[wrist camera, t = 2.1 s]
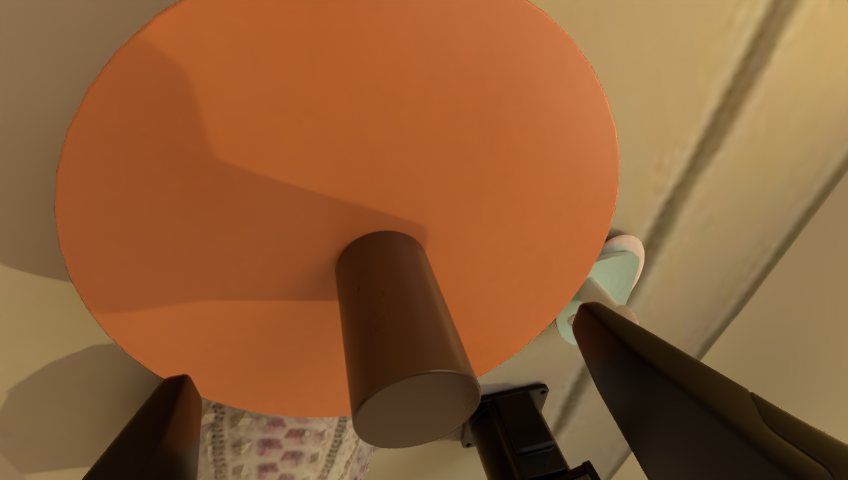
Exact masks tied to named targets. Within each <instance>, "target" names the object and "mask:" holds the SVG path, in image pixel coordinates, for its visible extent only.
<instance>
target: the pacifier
mask: <svg viewBox="0 0 848 480" xmlns="http://www.w3.org/2000/svg"><path fill="white" fill-rule="evenodd" d="M623 250H626V251H624V252H618V251H623ZM643 264H644V249H643V246H642V243H641V242H640V240H639V239H638V238H637V237H635V236H632V235H619V236H616V237H614V238H611V239H610V240H608V241H607V242H605V243H604V245H603V247H602V249H601V252H600V254H599V256H598V258H597V260H596V262H595V264H594V266H593V267H592V269H591V271H590V273H589V274H588V276H587V278H586V280H585V281H584V283H583V284H582V285H581V287H580V288H579V290H578V291H577V293H576V294H575V295H574V297H573V298H572V300H571V301H570V302H569V303H568V304H567V306H566V307H565V308H564V309H563V310H562V311H561V312H560V314H559V315H558V316H557V317H556V318H555V323H556V326H557V329H558V331H559V333H560V335H561V336H562V337H563V338H564V339H565V340H566V341H567V342H569V343H570V344H573V345H575V346H578V344H577V342H576V340H575V337H574V335H573V331H572V324H570V325H569V324H568V319H569V317H570V316H571V315H572V314H576V313H577V310H578V307H579V306H580V305H581V304H582V303H586V302H592V301H596V302H599V303H601V304H603V305H605V306H606V307H608V308H610V309H611V310H613V311H615V312H616V313H618V314H620V315H622V316H623V317H625V318H627V319H628V320H630V321H632V322H634V323H635V324H637V325H639V324H638V321H637V319H636V317H635V315H634V314H633V312H632V311H631V310H630V309H629V308H628V307H627V306H625V305H626V302H627V300H628V297H629V295H630V292H631V290H632V289H633V287H634V286H635V284H636V282H637V281H638V278H639V276H640V274H641V271H642V268H643Z"/></svg>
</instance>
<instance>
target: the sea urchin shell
mask: <svg viewBox="0 0 848 480" xmlns="http://www.w3.org/2000/svg"><path fill="white" fill-rule="evenodd" d="M201 399H202V417H201V432H200V447H199V462H198V475H197V480H364V479H366V477H365V474H366V473H368V472H369V470H368V467H367V466H368V463H369V461H370V460H371V458H372V457H373V455H372V454H373V450H372V448H373V447H374V446H373V445H370V444H368V443H365V442H364V441H362V440H361V439H360V438H359V437H358V436H357V434H356V433H355V431H354V429H353V425H352V416H343V417H320V418H309V417H287V416H279V415H271V414H263V413H257V412H253V411H248V410H243V409H239V408H234V407H231V406H227V405H224V404H221V403H218V402H215V401H211V400H208V399H205V398H203V397H201Z"/></svg>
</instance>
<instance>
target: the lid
mask: <svg viewBox="0 0 848 480" xmlns="http://www.w3.org/2000/svg"><path fill="white" fill-rule="evenodd" d="M619 159H620V156H619V148H618V141H617V133H616V127H615V123H614V120H613V116H612V113H611V110H610V106H609V103H608V100H607V97H606V95H605V93H604V91H603V89H602V87H601V84H600V82H599V80H598V78H597V76H596V74H595V72H594V70H593V68H592V66H591V65H590V64H589V62H588V61H587V60H586V58H585V57H584V55H583V54H582V53H581V51H580V50H579V49H578V47H577V46H576V44H575V43H574V42H573V40H572V39H571V38H570V37H569V36H568V35H567V34H566V33H565V32H564V31H563V30H562V29H561V28H560V27H559V26H558V25H557V24H556V23H555V22H554V21H553V20H552V19H551V18H550V17H549V16H548V15H547V14H546V13H545V12H544V11H542V10H541V9H539V8H538V7H536V6H535V5H533V4H532V3H530V2H529V1H528V0H180V1H178V2H177V3H175V4H173V5H172V6H170V7H168V8H167V9H165V10H164V11H162V12H160V13H159V14H157V15H156V16H155V17H154V18H153V19H151V20H150V21H149V22H148V23H147V24H146V25H145V26H144V27H142V28H141V29H140V30H139V31H138V32H137V33H136V34H135V35H133V36H132V37H131V38H130V39H129V40H128V41H127V42H126V43H124V44H123V45H122V46H121V47H120V48H119V49H118V50H117V51H116V52H115V54H114V55H113V56H112V58H111V59H110V60H109V62H108V63H107V64H106V65H105V67H104V68H103V69H102V71H101V72H100V73H99V74H98V76H97V77H96V78H95V80H94V81H93V82H92V84H91V85H90V86H89V87H88V89H87V91H86V93H85V95H84V97H83V99H82V101H81V103H80V105H79V107H78V109H77V111H76V113H75V115H74V117H73V119H72V121H71V123H70V125H69V127H68V129H67V133H66V137H65V140H64V144H63V148H62V151H61V155H60V159H59V163H58V166H57V172H56V188H55V205H54V211H55V218H56V225H57V232H58V239H59V246H60V249H61V252H62V255H63V258H64V261H65V264H66V267H67V270H68V273H69V276H70V279H71V281H72V283H73V284H74V286H75V288H76V290H77V292H78V293H79V295H80V297H81V299H82V301H83V302H84V304H85V306H86V308H87V309H88V311H89V312H90V313H91V314H92V316H93V317H94V318H95V320H96V321H97V322H98V323H99V325H100V326H101V327H102V328H103V330H104V331H105V332H106V333H107V335H108V336H109V337H111V338H112V339H113V340H114V341H115V342H116V343H117V344H118V345H119V346H120V347H121V348H122V349H123V350H124V351H125V352H126V353H127V354H129V355H130V356H131V357H132V358H134V359H135V360H136V361H138V362H139V363H141V364H142V365H143V366H145V367H146V368H148V369H149V370H150V371H152V372H153V373H154V374H156V375H158V376H160V377H162V378H163V379H165V378H167V377H170V376H176V375H182V374H188V375H189V376H190V377H191V378H192V380H193V382H194V384H195V386H196V388H197V390H198V392H199V394H200V396H201V397H203V398H205V399H208V400H211V401H215V402H218V403H221V404H224V405H227V406H231V407H234V408H239V409H243V410H248V411H253V412H257V413H263V414H271V415H279V416H287V417H309V418H320V417H343V416H352V425H353V429H354V431H355V433H356V434H357V436H358V437H359V438H360V439H361V440H362V441H364V442H365V443H368V444H370V445H373V446H376V447H381V448H406V447H413V446H418V445H421V444H425V443H428V442H431V441H434V440H436V439H439V438H441V437H443V436H445V435H447V434H449V433H451V432H452V431H454V430H456V429H457V428H459V427H460V426H461V425H463V424H464V423H465V422H466V421H467V420H468V419H469V418H470V417H471V416H472V415H473V414H474V412H475V411H476V409H477V407H478V405H479V403H480V400H481V388H480V385H479V383H478V381H477V377H479V376H481V375H483V374H484V373H486V372H488V371H489V370H491V369H493V368H494V367H496V366H498V365H500V364H501V363H502V362H504V361H505V360H507V359H508V358H510V357H511V356H512V355H514V354H515V353H517V352H518V351H520V350H521V349H522V348H523V347H524V346H526V345H527V344H528V343H529V342H531V341H532V340H533V339H534V338H535V337H537V336H538V335H539V334H540V333H541V332H542V331H543V330H544V329H545V328H546V327H547V326H548V325H549V324H550V323H551V322H552V321H553V320H554V319H555V318H556V317H557V316H558V315H559V314H560V312H561V311H562V310H563V309H564V308H565V307H566V306H567V304H568V303H569V302H570V301H571V300H572V298H573V297H574V295H575V294H576V293H577V291H578V290H579V288H580V287H581V285H582V284H583V283H584V281H585V280H586V278H587V276H588V274H589V273H590V271H591V269H592V267H593V266H594V264H595V262H596V260H597V258H598V256H599V254H600V252H601V249H602V247H603V245H604V242H605V240H606V238H607V235H608V232H609V228H610V225H611V222H612V218H613V215H614V212H615V206H616V200H617V194H618V187H619Z"/></svg>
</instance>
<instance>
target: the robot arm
mask: <svg viewBox="0 0 848 480" xmlns="http://www.w3.org/2000/svg"><path fill="white" fill-rule="evenodd" d="M572 331H573V335H574V337H575V340H576V342H577V344H578V346H579V349H580V351H581V353H582V356H583V358H584V360H585V362H586V365H587V367H588V369H589V372H590V374H591V376H592V378H593V381H594V383H595V385H596V387H597V389H598V391H599V393H600V395H601V397H602V398H603V400H604V402H605V404H606V405H607V407H608V409H609V411H610V413H611V414H612V416H613V418H614V420H615V421H616V423H617V425H618V427H619V429H620V430H621V432H622V434H623V436H624V437H625V439H626V441H627V443H628V444H629V446H630V448H631V450H632V452H633V453H634V455H635V457H636V458H637V460H638V462H639V464H640V466H641V468H642V469H643V471H644V473H645V474H646V476H647V478H648V480H848V444H845V443H844V442H842V441H840V440H838V439H836V438H834V437H832V436H830V435H828V434H826V433H825V432H822V431H821V430H819V429H817V428H815V427H813V426H811V425H809V424H807V423H806V422H804V421H802V420H800V419H798V418H796V417H795V416H793V415H791V414H789V413H788V412H786V411H784V410H782V409H781V408H779V407H777V406H775V405H774V404H772V403H770V402H768V401H767V400H765V399H763V398H762V397H759V396H758V395H756V394H755V393H753V392H749V390H748V389H746V388H744V387H743V386H741V385H739V384H737V383H736V382H734V381H732V380H731V379H729V378H727V377H726V376H724V375H722V374H720V373H719V372H717V371H715V370H714V369H712V368H710V367H708V366H707V365H705V364H703V363H702V362H700V361H698V360H697V359H695V358H693V357H691V356H690V355H688V354H686V353H685V352H683V351H681V350H680V349H678V348H676V347H674V346H673V345H671V344H669V343H668V342H666V341H664V340H662V339H661V338H659V337H657V336H656V335H654V334H652V333H651V332H649V331H647V330H645V329H644V328H642V327H640V326H639V325H637V324H635V323H634V322H632V321H630V320H628V319H627V318H625V317H623V316H622V315H620V314H618V313H616V312H615V311H613V310H611V309H610V308H608V307H606V306H605V305H603V304H601V303H599V302H596V301H592V302H586V303H582V304H581V305H580V306H579V307H578V310H577V313H576V316H575V318H574V321H573V324H572ZM548 391H549V389H548V387H547V386H546V384H539V385H535V386H530V387H526V388H521V389H517V390H512V391H507V392H503V393H498V394H494V395H489V396H485V397H481V400H480V403H479V405H478V407H477V409H476V411H475V412H474V414H473V415H472V416H471V417H470V418H469V419H468V420H467V421H466V422H465V423H464V427H463V433H462V440H461V443H462V446H463V448H469V447H473V446H476V448H477V451H478V454H479V457H480V459H481V462H482V465H483V468H484V471H485V474H486V476H487V479H488V480H601V479H600V477H599V476H598V474H597V472H596V471H595V469H594V467H593V466H592V464H591V462H590V461H589V460H588V461H585V462H583V463H582V465H580V466H578V467H576V468H574V469H571V470H570V468H569V466H568V464H567V462H566V460H565V458H564V456H563V454H562V452H561V450H560V448H559V446H558V444H557V442H556V441H555V439H554V437H553V435H552V433H551V431H550V429H549V427H548V425H547V423H546V421H545V419H544V417H543V415H542V413H541V411H542V408H543V405H544V403H545V400H546V397H547V394H548ZM201 417H202V399H201V396H200V394H199V392H198V390H197V388H196V386H195V384H194V382H193V380H192V378H191V377H190V376H189V375H188V374H182V375H176V376H170V377H167V378H165V379H164V380H163V381H162V382H161V383H160V384H159V386H158V387H157V388H156V389H155V391H154V392H153V393H152V394H151V395H150V397H149V398H148V399H147V400H146V402H145V403H144V404H143V405H142V406H141V408H140V409H139V410H138V411H137V413H136V414H135V415H134V416H133V417H132V419H131V420H130V421H129V422H128V424H127V425H126V426H125V427H124V429H123V430H122V431H121V432H120V433H119V435H118V436H117V437H116V438H115V440H114V441H113V442H112V443H111V444H110V446H109V447H108V448H107V449H106V451H105V452H104V453H103V454H102V455H101V457H100V458H99V459H98V460H97V462H96V463H95V464H94V465H93V466H92V468H91V469H90V470H89V471H88V473H87V474H86V475H85V476H84V478H83V479H82V480H197V475H198V462H199V447H200V432H201Z"/></svg>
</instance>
